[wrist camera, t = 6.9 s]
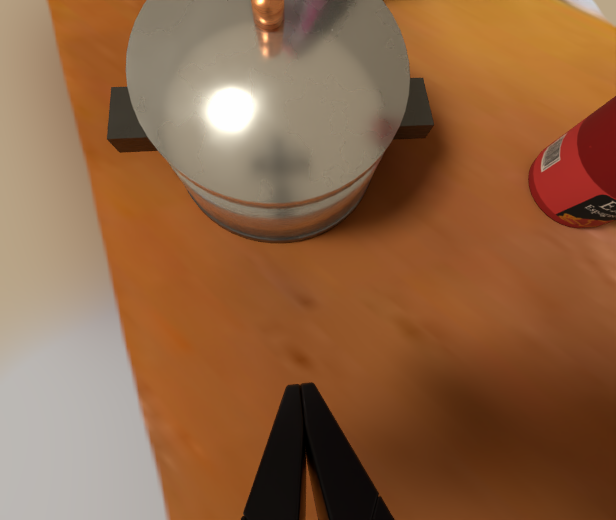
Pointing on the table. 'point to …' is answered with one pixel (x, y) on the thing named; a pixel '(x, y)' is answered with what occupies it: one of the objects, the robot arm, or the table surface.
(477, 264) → the table surface
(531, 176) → the canned food
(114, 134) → the cooker pot
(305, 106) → the cooker lid
